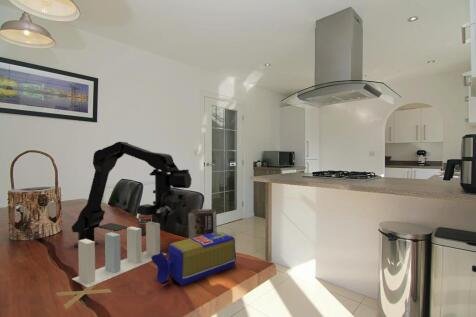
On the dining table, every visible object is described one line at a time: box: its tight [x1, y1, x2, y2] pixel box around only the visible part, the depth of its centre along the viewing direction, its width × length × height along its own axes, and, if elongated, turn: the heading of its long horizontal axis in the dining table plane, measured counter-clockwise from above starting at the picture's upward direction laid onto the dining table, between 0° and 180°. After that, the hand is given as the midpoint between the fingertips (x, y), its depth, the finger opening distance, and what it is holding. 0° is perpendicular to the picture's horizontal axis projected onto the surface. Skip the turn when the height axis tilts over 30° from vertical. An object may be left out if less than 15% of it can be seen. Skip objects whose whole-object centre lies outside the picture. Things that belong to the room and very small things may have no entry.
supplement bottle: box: [137, 214, 153, 236], centre depth 116 cm, size 6×6×11 cm
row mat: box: [71, 250, 168, 288], centre depth 80 cm, size 9×27×1 cm, turn 147°
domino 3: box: [126, 226, 143, 264], centre depth 83 cm, size 2×5×11 cm, turn 57°
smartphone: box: [98, 222, 129, 232], centre depth 127 cm, size 7×1×15 cm
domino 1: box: [77, 239, 96, 284], centre depth 71 cm, size 2×5×11 cm, turn 57°
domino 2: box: [104, 231, 121, 273], centre depth 77 cm, size 2×5×11 cm, turn 56°
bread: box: [151, 231, 237, 286], centre depth 76 cm, size 10×25×10 cm, turn 129°
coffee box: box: [187, 208, 218, 239], centre depth 89 cm, size 9×6×16 cm
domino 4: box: [145, 221, 161, 256], centre depth 89 cm, size 2×5×11 cm, turn 57°
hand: (163, 229), depth 93 cm, fingers closed
